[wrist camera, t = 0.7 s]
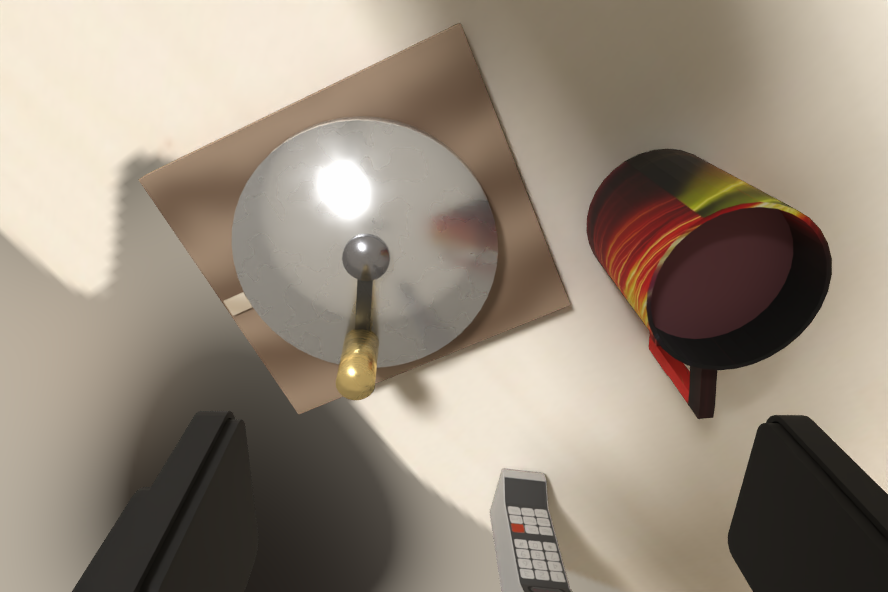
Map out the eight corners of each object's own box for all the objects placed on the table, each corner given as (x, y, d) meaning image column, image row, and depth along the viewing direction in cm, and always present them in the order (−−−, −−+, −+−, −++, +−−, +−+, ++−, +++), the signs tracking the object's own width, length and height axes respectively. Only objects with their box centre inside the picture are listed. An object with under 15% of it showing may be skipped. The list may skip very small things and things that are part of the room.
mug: (645, 344, 47) (715, 446, 36) (561, 200, 41) (614, 269, 30) (763, 280, 45) (875, 368, 34) (692, 120, 39) (797, 163, 29)
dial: (232, 102, 36) (197, 120, 30) (513, 131, 37) (532, 154, 32) (242, 348, 43) (215, 402, 37) (477, 364, 45) (486, 418, 39)
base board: (147, 173, 39) (137, 180, 38) (459, 23, 36) (461, 24, 35) (301, 402, 47) (298, 416, 46) (565, 296, 44) (571, 306, 43)
